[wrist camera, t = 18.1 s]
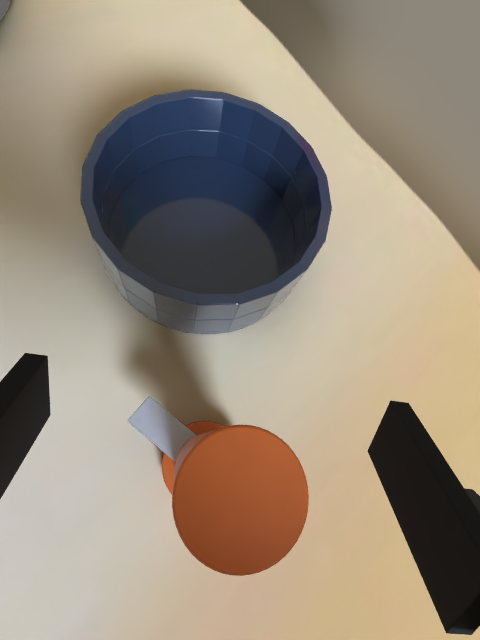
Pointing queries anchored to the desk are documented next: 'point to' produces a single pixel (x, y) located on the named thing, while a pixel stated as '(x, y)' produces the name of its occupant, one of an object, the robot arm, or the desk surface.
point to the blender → (4, 7)
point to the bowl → (204, 208)
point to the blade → (228, 489)
